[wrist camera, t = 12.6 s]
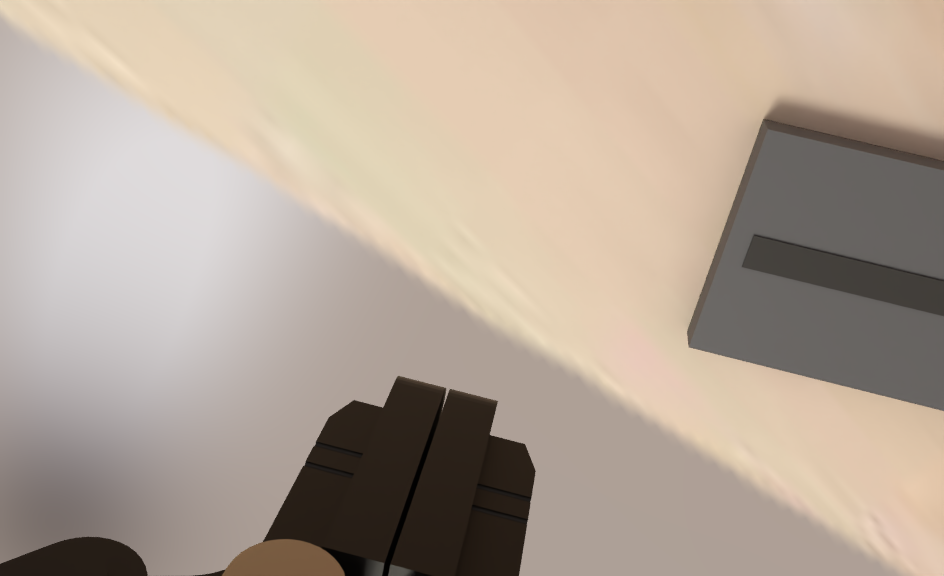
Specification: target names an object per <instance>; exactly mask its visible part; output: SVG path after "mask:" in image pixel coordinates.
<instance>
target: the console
mask: <svg viewBox="0 0 944 576" xmlns="http://www.w3.org/2000/svg"><path fill="white" fill-rule="evenodd" d="M687 335H688V345H689V347H690V348H694V349H698V350H702V351H706V352H710V353H714V354H718V355H722V356H726V357H730V358H734V359H738V360H742V361H746V362H750V363H754V364H758V365H762V366H766V367H770V368H774V369H778V370H782V371H786V372H790V373H794V374H798V375H802V376H806V377H810V378H814V379H818V380H822V381H826V382H830V383H834V384H838V385H842V386H846V387H850V388H854V389H858V390H862V391H866V392H870V393H874V394H878V395H882V396H886V397H890V398H894V399H898V400H902V401H906V402H910V403H914V404H918V405H922V406H926V407H930V408H934V409H938V410H942V411H944V161H940V160H936V159H931V158H927V157H923V156H918V155H914V154H910V153H906V152H901V151H897V150H893V149H889V148H884V147H880V146H876V145H871V144H867V143H863V142H859V141H854V140H850V139H846V138H841V137H837V136H833V135H829V134H824V133H820V132H816V131H812V130H807V129H803V128H799V127H794V126H790V125H786V124H782V123H777V122H773V121H769V120H764V119H763V122H762V125H761V127H760V130H759V133H758V136H757V139H756V141H755V144H754V147H753V150H752V153H751V155H750V158H749V161H748V164H747V166H746V169H745V172H744V175H743V178H742V180H741V183H740V186H739V189H738V192H737V194H736V197H735V200H734V203H733V206H732V208H731V211H730V214H729V217H728V219H727V222H726V225H725V228H724V231H723V233H722V236H721V239H720V242H719V245H718V247H717V250H716V253H715V256H714V258H713V261H712V264H711V267H710V270H709V272H708V275H707V278H706V281H705V284H704V286H703V289H702V292H701V295H700V298H699V300H698V303H697V306H696V309H695V311H694V314H693V317H692V320H691V323H690V325H689V328H688V331H687Z"/></svg>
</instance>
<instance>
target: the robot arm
mask: <svg viewBox="0 0 944 576" xmlns="http://www.w3.org/2000/svg"><path fill="white" fill-rule="evenodd" d="M445 394H446V388H444V387H440V386H436V385H432V384H428V383H424V382H420V381H416V380H412V379H409V378H405V377H400V376H398V377H397V379H396V381H395V383H394V385H393V387H392V389H391V392H390V394H389V396H388V398H387V401H386V403H385V405H384V407H383V408H382V407H378V406H374V405H370V404H367V403H363V402H359V401H355V400H354V401H352V402H351V403H349V404H348V405H346V406H345V407H343V408H342V409H340V410H339V411H338V412H336V413H335V414H333V415H332V416H330V417H329V418H328V420H327V422H326V424H325V426H324V428H323V430H322V431H321V434H320V435H319V437H318V439H317V441H316V445H315V446H314V447H313V448H312V450H311V452H310V454H309V456H308V458H307V460H306V463H305V466H303V468H302V469H301V471H300V473H299V475H298V477H297V479H296V481H295V483H294V484H293V486H292V488H291V490H290V492H289V494H288V496H287V498H286V500H285V501H284V503H283V505H282V507H281V509H280V511H279V513H278V515H277V517H276V518H275V520H274V522H273V525H272V526H271V528H270V530H269V532H268V534H267V535H266V537H265V539H264V541H263V542H262V543H259V544H256V545H254V546H252V547H249V548H248V549H246V550H245V551H243V552H241V553H240V554H239V555H238V556H237V557H235V558H234V559H233V561H232V562H231V563H230V565H228V567H227V568H226V570H222V571H219V572H215V573H211V574H205V575H195V576H519V571H520V565H521V559H522V553H523V546H524V540H525V534H526V527H527V520H528V515H529V509H530V501H531V496H532V489H533V484H534V477H535V468H534V466H533V463H532V461H531V458H530V456H529V453H528V451H527V448H526V446H525V444H522V443H518V442H514V441H510V440H507V439H503V438H499V437H495V436H491V435H490V431H491V427H492V423H493V418H494V415H495V411H496V406H497V402H498V401H495V400H491V399H487V398H483V397H480V396H476V395H471V394H468V393H464V392H460V391H456V390H452V389H450V390H449V393H448V396H447V399H446V402H445V404H444V400H445ZM443 404H444V407H443ZM442 408H443V410H442ZM0 576H147V571H146V566H145V564H144V563H143V561H142V559H141V558H140V556H139V555H138V554H137V553H136V552H135V551H134V550H132V549H131V548H130V547H128V546H126V545H124V544H122V543H120V542H117V541H114V540H111V539H106V538H100V537H82V538H74V539H68V540H64V541H60V542H57V543H55V544H52V545H49V546H46V547H43V548H41V549H38V550H36V551H33V552H30V553H28V554H25V555H22V556H20V557H17V558H15V559H12V560H9V561H7V562H4V563H1V564H0Z"/></svg>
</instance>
